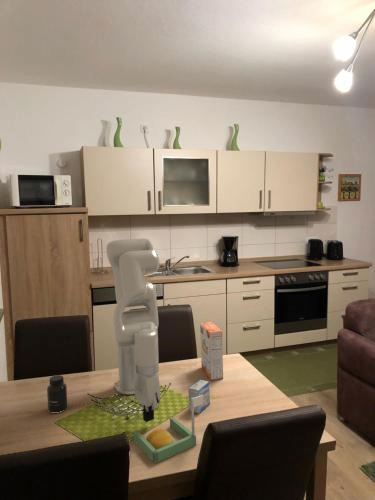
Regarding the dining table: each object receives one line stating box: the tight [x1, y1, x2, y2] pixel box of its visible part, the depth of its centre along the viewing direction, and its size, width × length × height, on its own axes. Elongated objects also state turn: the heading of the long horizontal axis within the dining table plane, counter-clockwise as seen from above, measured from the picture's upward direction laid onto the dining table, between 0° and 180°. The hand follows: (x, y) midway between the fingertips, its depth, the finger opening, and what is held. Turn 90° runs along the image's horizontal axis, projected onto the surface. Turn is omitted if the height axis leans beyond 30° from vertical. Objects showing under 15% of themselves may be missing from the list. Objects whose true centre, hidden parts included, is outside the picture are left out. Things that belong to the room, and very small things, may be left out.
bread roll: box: [145, 428, 175, 450], centre depth 118 cm, size 8×9×4 cm
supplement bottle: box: [46, 374, 69, 413], centre depth 140 cm, size 7×7×12 cm
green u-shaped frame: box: [133, 395, 203, 464], centre depth 119 cm, size 13×18×15 cm
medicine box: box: [187, 379, 211, 414], centre depth 139 cm, size 8×4×9 cm, turn 148°
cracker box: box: [199, 321, 224, 381], centre depth 167 cm, size 14×6×21 cm, turn 14°
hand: (148, 419), depth 128 cm, fingers closed
